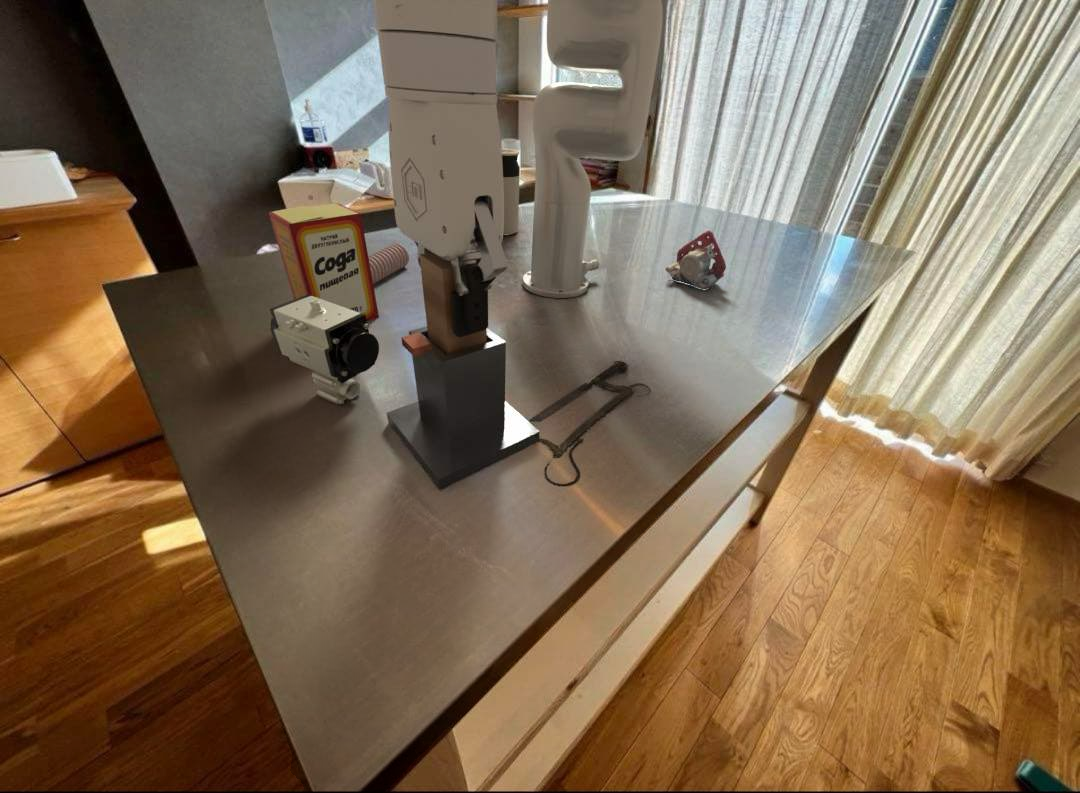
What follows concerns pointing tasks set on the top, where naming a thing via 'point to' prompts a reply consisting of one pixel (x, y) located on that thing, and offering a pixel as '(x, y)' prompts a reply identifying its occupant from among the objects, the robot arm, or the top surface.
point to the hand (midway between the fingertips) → (456, 318)
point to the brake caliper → (699, 262)
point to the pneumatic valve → (325, 344)
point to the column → (444, 305)
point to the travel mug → (510, 190)
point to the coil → (387, 261)
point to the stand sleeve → (459, 410)
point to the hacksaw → (581, 430)
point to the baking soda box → (326, 255)
